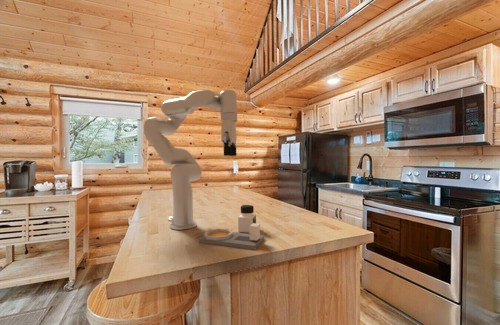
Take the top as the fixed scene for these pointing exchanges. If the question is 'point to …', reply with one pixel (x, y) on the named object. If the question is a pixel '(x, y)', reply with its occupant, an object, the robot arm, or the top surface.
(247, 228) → the medicine bottle
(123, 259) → the top surface
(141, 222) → the top surface
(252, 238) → the block
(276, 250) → the top surface
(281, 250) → the top surface
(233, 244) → the grey tray
